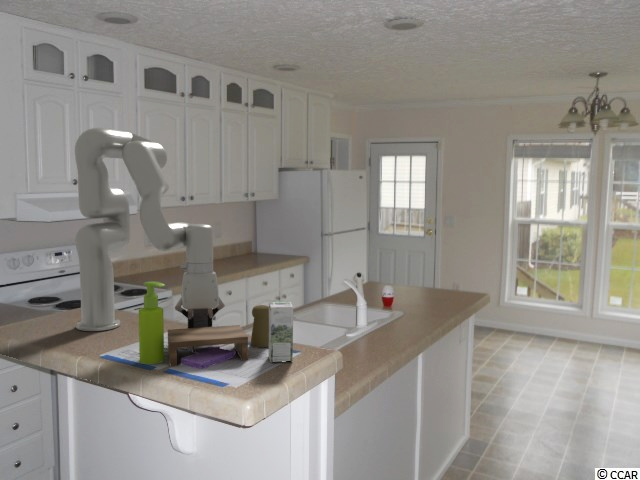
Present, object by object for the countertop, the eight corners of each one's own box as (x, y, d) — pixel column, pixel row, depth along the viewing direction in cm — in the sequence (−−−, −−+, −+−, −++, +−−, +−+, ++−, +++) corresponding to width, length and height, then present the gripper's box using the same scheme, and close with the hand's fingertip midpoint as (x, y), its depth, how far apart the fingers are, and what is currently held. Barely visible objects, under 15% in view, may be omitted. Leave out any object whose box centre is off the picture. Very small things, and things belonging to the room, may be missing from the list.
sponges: (180, 365, 140) (180, 358, 140) (215, 352, 151) (215, 345, 150) (201, 370, 136) (201, 363, 136) (235, 357, 147) (235, 350, 147)
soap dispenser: (154, 366, 138) (153, 285, 136) (134, 361, 141) (132, 282, 139) (172, 359, 143) (170, 281, 141) (152, 355, 146) (150, 278, 144)
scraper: (186, 337, 163) (186, 306, 163) (211, 335, 166) (211, 305, 165) (192, 353, 148) (192, 319, 147) (219, 350, 151) (219, 317, 150)
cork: (268, 348, 154) (268, 308, 152) (247, 347, 155) (247, 307, 154) (274, 342, 159) (275, 304, 158) (254, 341, 161) (254, 302, 159)
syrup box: (290, 355, 148) (290, 300, 146) (293, 362, 142) (293, 306, 140) (268, 356, 147) (268, 301, 145) (270, 363, 141) (270, 306, 140)
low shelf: (167, 352, 149) (167, 329, 149) (239, 346, 155) (239, 325, 155) (170, 366, 138) (170, 342, 137) (247, 359, 144) (247, 336, 143)
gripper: (169, 271, 154) (170, 337, 156) (231, 269, 159) (231, 332, 161) (168, 267, 161) (168, 330, 163) (227, 265, 166) (227, 326, 168)
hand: (200, 330), depth 162 cm, fingers closed on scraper, 4 cm apart
